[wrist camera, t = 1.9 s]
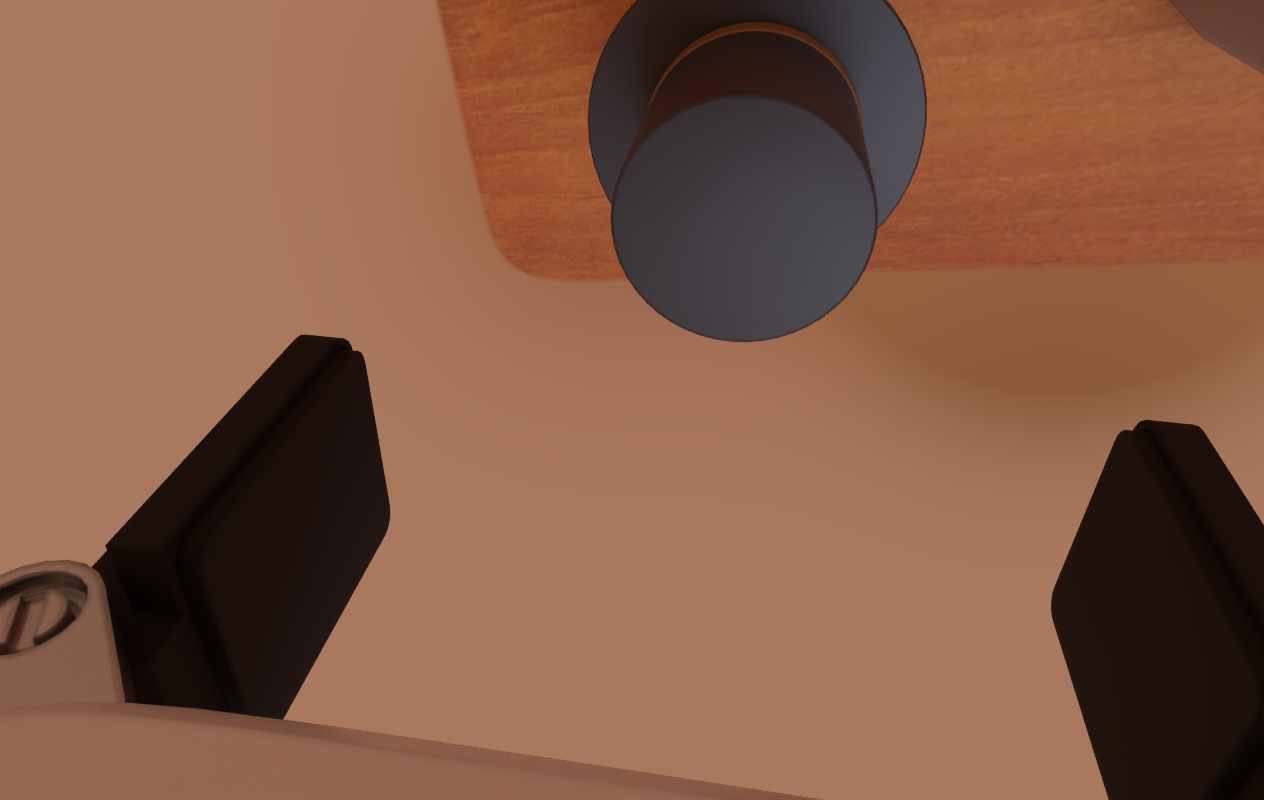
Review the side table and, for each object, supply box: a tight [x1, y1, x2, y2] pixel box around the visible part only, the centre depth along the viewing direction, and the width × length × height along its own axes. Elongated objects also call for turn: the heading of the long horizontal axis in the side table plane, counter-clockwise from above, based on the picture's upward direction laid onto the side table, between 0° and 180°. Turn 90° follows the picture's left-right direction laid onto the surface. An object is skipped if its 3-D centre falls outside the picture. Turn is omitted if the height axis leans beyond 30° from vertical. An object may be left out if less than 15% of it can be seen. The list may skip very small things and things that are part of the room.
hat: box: [588, 0, 927, 342], centre depth 20 cm, size 8×8×7 cm
